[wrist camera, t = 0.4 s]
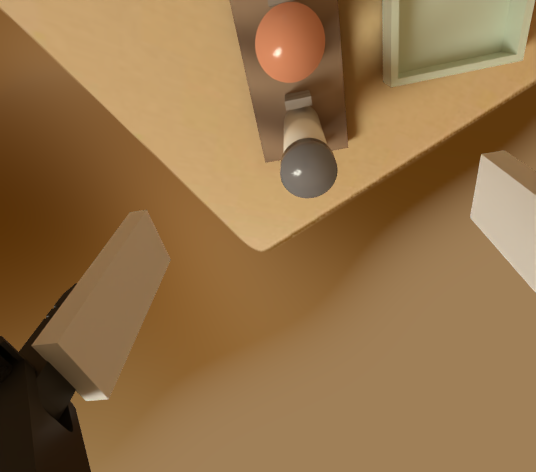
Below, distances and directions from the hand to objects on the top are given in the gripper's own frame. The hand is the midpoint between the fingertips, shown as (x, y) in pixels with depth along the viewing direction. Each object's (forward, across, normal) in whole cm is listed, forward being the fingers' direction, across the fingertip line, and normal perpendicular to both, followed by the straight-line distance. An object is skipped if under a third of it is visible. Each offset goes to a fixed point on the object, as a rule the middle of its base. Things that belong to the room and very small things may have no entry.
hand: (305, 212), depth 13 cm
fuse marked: (+23, 0, +5) cm, 23 cm away
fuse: (+23, 0, -3) cm, 23 cm away
